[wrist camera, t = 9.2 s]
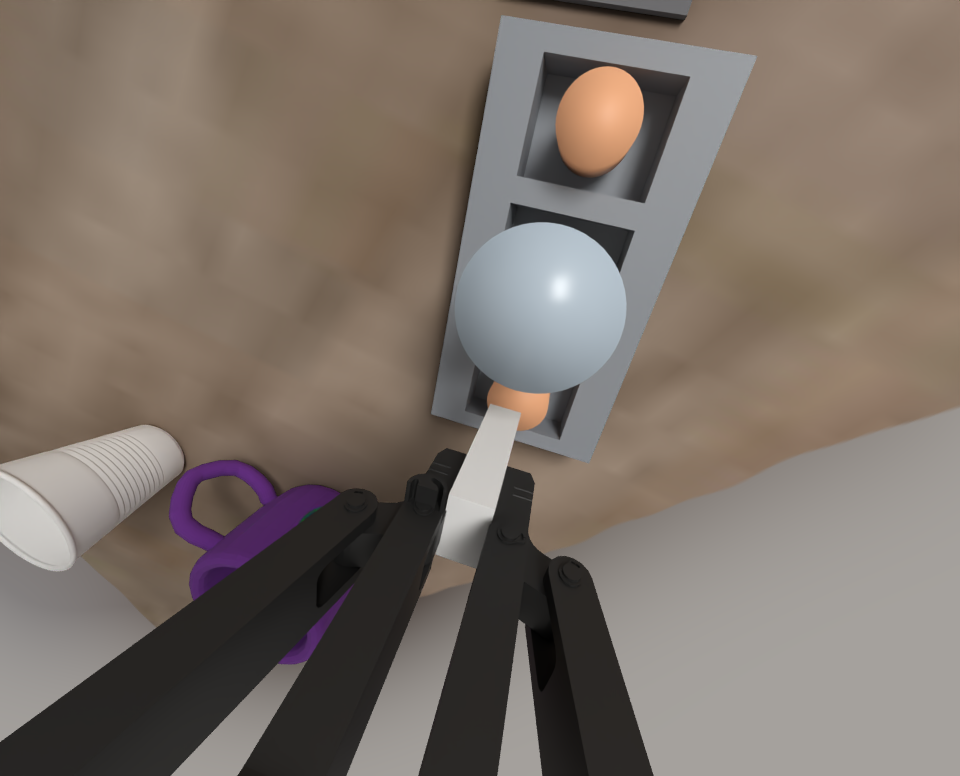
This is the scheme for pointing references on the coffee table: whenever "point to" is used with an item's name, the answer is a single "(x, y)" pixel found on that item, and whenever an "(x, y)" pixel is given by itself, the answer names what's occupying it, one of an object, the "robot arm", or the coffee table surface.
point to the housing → (589, 192)
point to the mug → (247, 533)
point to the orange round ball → (520, 404)
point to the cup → (81, 492)
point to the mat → (643, 6)
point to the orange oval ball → (598, 121)
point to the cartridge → (540, 307)
